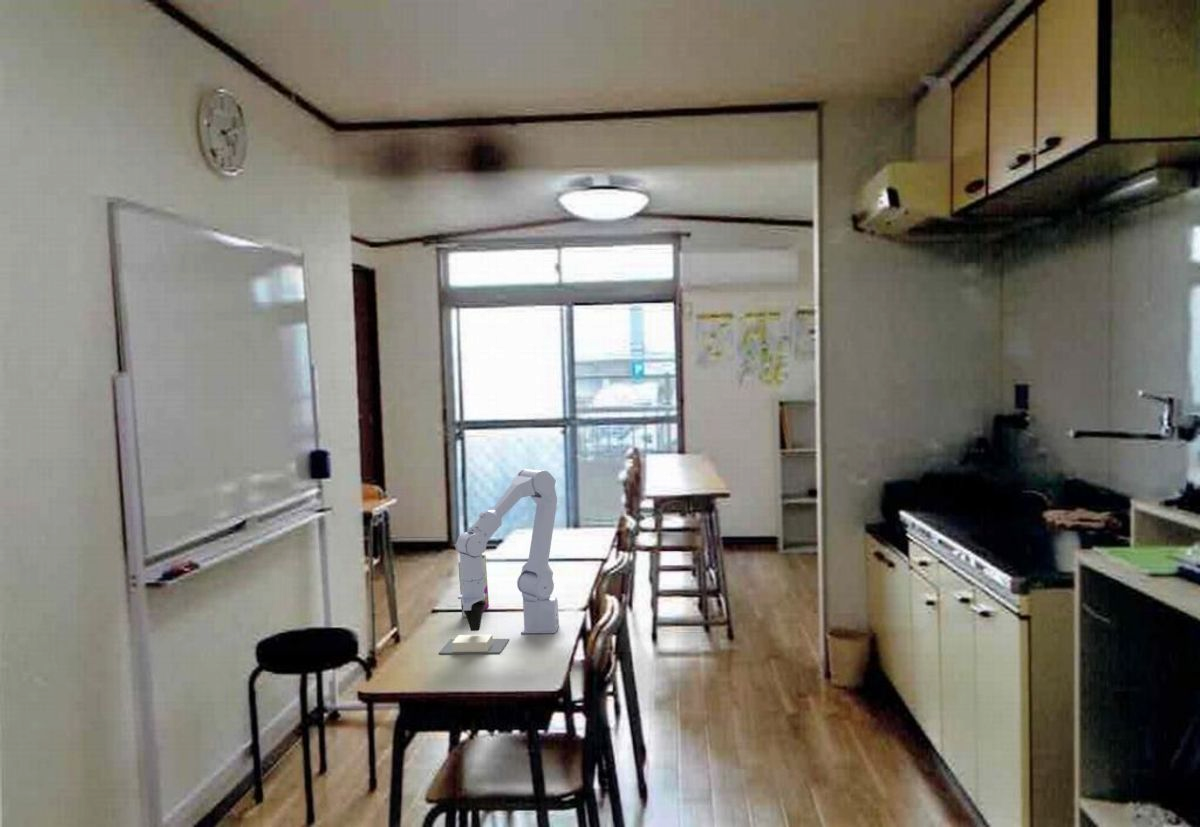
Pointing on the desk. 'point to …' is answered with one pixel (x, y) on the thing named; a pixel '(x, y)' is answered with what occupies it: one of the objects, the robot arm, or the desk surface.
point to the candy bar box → (484, 584)
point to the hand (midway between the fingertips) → (475, 630)
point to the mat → (494, 649)
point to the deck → (472, 643)
